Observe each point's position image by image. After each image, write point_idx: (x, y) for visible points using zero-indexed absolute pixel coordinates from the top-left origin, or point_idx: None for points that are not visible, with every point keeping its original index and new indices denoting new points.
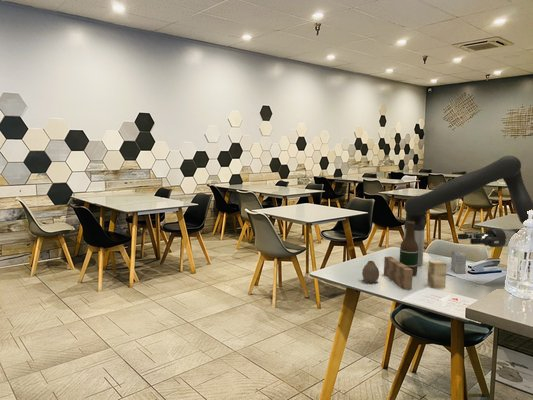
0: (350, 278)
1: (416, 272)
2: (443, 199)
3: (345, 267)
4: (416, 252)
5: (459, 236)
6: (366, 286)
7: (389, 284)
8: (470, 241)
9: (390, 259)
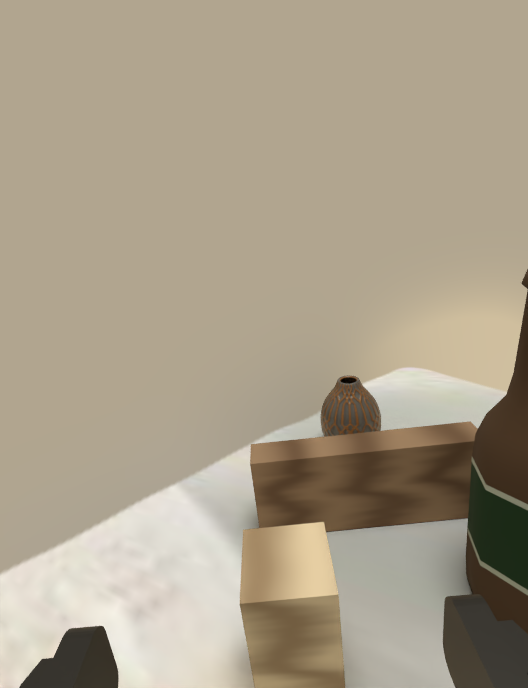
0: None
1: None
2: None
3: None
4: (506, 499)
5: (452, 632)
6: (301, 433)
7: None
8: (107, 651)
9: (421, 430)
